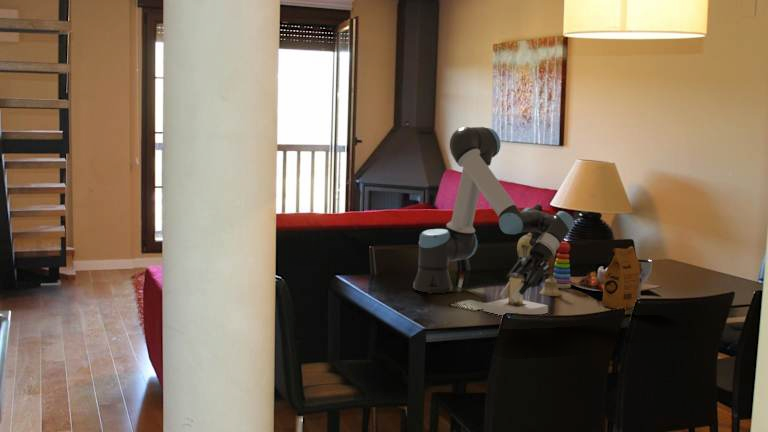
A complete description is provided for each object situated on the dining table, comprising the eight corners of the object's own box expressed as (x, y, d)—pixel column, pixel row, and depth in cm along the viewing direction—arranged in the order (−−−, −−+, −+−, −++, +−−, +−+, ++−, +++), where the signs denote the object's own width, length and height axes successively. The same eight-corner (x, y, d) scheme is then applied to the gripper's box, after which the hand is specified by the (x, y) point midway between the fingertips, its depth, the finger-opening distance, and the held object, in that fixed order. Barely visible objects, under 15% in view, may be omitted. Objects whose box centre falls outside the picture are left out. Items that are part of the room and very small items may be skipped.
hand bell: (548, 296, 336) (550, 255, 334) (535, 292, 343) (537, 252, 341) (565, 295, 340) (567, 254, 338) (552, 291, 347) (554, 251, 345)
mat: (448, 305, 315) (448, 304, 315) (469, 301, 324) (470, 299, 323) (474, 311, 307) (475, 310, 307) (495, 307, 315) (496, 305, 315)
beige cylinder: (504, 310, 307) (506, 273, 305) (513, 308, 310) (515, 272, 309) (516, 313, 303) (518, 276, 302) (525, 311, 307) (527, 274, 305)
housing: (483, 311, 307) (483, 303, 306) (510, 305, 318) (510, 297, 318) (520, 320, 296) (520, 311, 295) (547, 313, 307) (547, 305, 307)
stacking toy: (570, 289, 351) (573, 243, 349) (550, 288, 352) (553, 242, 350) (570, 286, 359) (573, 240, 356) (551, 284, 360) (553, 239, 358)
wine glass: (646, 302, 331) (649, 263, 330) (625, 299, 336) (628, 260, 334) (652, 298, 338) (654, 260, 336) (631, 295, 342) (634, 258, 341)
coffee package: (597, 305, 323) (601, 246, 321) (620, 302, 330) (624, 244, 328) (618, 310, 315) (622, 250, 313) (641, 307, 322) (645, 248, 320)
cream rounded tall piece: (515, 268, 396) (519, 202, 392) (553, 270, 393) (557, 204, 390) (516, 275, 378) (519, 206, 375) (555, 277, 376) (559, 208, 372)
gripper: (567, 259, 306) (531, 310, 299) (531, 251, 321) (495, 300, 313) (558, 245, 302) (521, 296, 295) (521, 238, 317) (485, 286, 310)
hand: (507, 298), depth 304 cm, fingers closed on beige cylinder, 5 cm apart
